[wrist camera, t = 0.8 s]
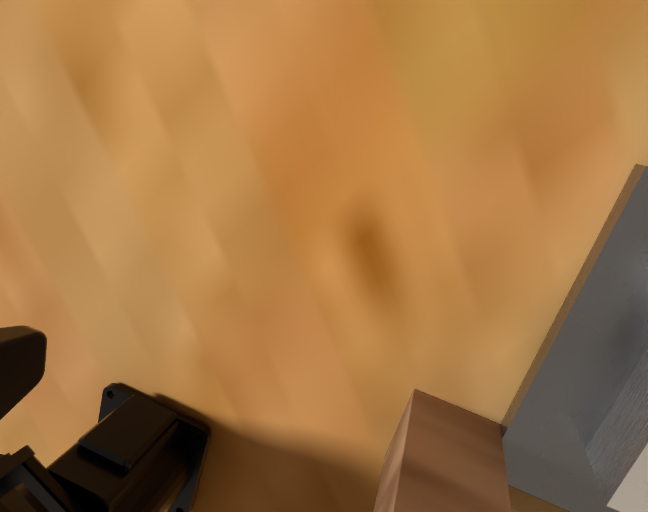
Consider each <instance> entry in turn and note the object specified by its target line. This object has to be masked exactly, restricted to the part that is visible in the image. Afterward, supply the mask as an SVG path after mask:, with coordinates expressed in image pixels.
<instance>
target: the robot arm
mask: <svg viewBox="0 0 648 512" xmlns="http://www.w3.org/2000/svg"><path fill="white" fill-rule="evenodd" d="M46 348H47V338H46V335H45V334H44V333H43V332H41V331H39V330H36V329H34V328H31V327H28V326H13V327H5V328H0V420H1V419H2V418H3V417H4V416H5V415H6V414H7V413H8V412H9V411H10V410H11V409H12V408H13V407H14V406H15V405H16V404H17V403H18V402H20V401H21V400H22V399H23V398H24V397H25V396H26V395H27V394H28V393H29V392H30V391H31V390H32V389H33V388H34V387H35V386H36V385H37V384H38V383H39V382H40V380H41V379H42V377H43V375H44V372H45V361H46ZM113 393H114V394H113ZM199 432H200V433H201V434H202V435H203V436H202V435H200V434H199ZM210 438H211V431H210V429H209V428H208V426H206V425H205V424H202V423H200V422H198V421H196V420H194V419H192V418H189V417H187V416H185V415H183V414H181V413H179V412H177V411H174V410H172V409H170V408H168V407H166V406H164V405H161V404H159V403H157V402H155V401H153V400H151V399H149V398H146V397H144V396H142V395H140V394H138V393H136V392H134V391H131V390H129V389H127V388H125V387H123V386H121V385H118V384H116V383H111V384H110V385H108V386H107V387H106V388H104V390H103V394H102V401H101V407H100V413H99V420H98V424H96V425H95V426H94V427H93V428H92V429H90V430H89V431H88V432H87V433H86V434H84V435H83V436H82V437H81V438H80V439H79V440H78V442H77V443H76V444H74V445H73V446H72V447H71V448H70V449H68V450H67V451H66V452H65V453H64V454H62V455H61V456H60V457H59V458H58V459H56V460H55V461H54V462H53V463H52V464H50V465H49V466H48V467H47V468H45V467H44V466H43V465H42V464H41V463H40V462H39V460H38V459H37V458H36V457H35V456H34V455H35V453H34V452H33V450H32V449H31V448H30V447H29V446H28V445H26V446H25V447H23V448H22V449H20V450H19V451H17V452H16V453H14V454H13V455H10V453H8V454H6V455H2V454H0V512H191V510H192V506H193V502H194V498H195V494H196V491H197V487H198V483H199V479H200V475H201V472H202V468H203V464H204V460H205V457H206V453H207V449H208V445H209V441H210Z"/></svg>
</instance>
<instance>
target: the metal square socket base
mask: <svg viewBox="0 0 648 512" xmlns="http://www.w3.org/2000/svg"><path fill="white" fill-rule="evenodd" d="M500 428H501V435H502V442H503V450H504V457H505V464H506V471H507V479H508V485H509V486H512V487H514V488H516V489H519V490H521V491H523V492H526V493H528V494H530V495H532V496H535V497H537V498H539V499H542V500H544V501H546V502H548V503H551V504H553V505H555V506H558V507H560V508H562V509H564V510H567V511H569V512H648V167H647V166H643V165H638V164H636V165H635V167H634V169H633V170H632V172H631V174H630V176H629V178H628V180H627V182H626V184H625V186H624V188H623V190H622V192H621V194H620V195H619V197H618V199H617V201H616V203H615V205H614V207H613V209H612V211H611V213H610V215H609V217H608V219H607V221H606V222H605V224H604V226H603V228H602V230H601V232H600V234H599V236H598V238H597V240H596V242H595V244H594V246H593V247H592V249H591V251H590V253H589V255H588V257H587V259H586V261H585V263H584V265H583V267H582V269H581V271H580V273H579V274H578V276H577V278H576V280H575V282H574V284H573V286H572V288H571V290H570V292H569V294H568V296H567V298H566V299H565V301H564V303H563V305H562V307H561V309H560V311H559V313H558V315H557V317H556V319H555V321H554V323H553V325H552V326H551V328H550V330H549V332H548V334H547V336H546V338H545V340H544V342H543V344H542V346H541V348H540V350H539V351H538V353H537V355H536V357H535V359H534V361H533V363H532V365H531V367H530V369H529V371H528V373H527V375H526V377H525V378H524V380H523V382H522V384H521V386H520V388H519V390H518V392H517V394H516V396H515V398H514V400H513V402H512V403H511V405H510V407H509V409H508V411H507V413H506V415H505V417H504V419H503V421H502V423H501V425H500Z"/></svg>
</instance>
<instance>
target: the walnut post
mask: <svg viewBox="0 0 648 512" xmlns="http://www.w3.org/2000/svg"><path fill="white" fill-rule="evenodd" d="M373 512H512V508H511V501H510V493H509V486H508V479H507V471H506V464H505V457H504V450H503V442H502V435H501V428H500V424H498V423H495V422H493V421H490V420H488V419H486V418H483V417H481V416H478V415H476V414H474V413H471V412H469V411H466V410H464V409H462V408H459V407H457V406H454V405H452V404H450V403H447V402H445V401H442V400H440V399H438V398H435V397H433V396H430V395H428V394H426V393H423V392H421V391H418V390H416V389H414V390H413V393H412V395H411V397H410V400H409V402H408V404H407V407H406V409H405V411H404V414H403V416H402V418H401V421H400V423H399V425H398V428H397V430H396V432H395V435H394V437H393V439H392V442H391V444H390V446H389V449H388V451H387V453H386V456H385V461H384V465H383V470H382V474H381V479H380V483H379V488H378V492H377V497H376V501H375V506H374V510H373Z"/></svg>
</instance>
